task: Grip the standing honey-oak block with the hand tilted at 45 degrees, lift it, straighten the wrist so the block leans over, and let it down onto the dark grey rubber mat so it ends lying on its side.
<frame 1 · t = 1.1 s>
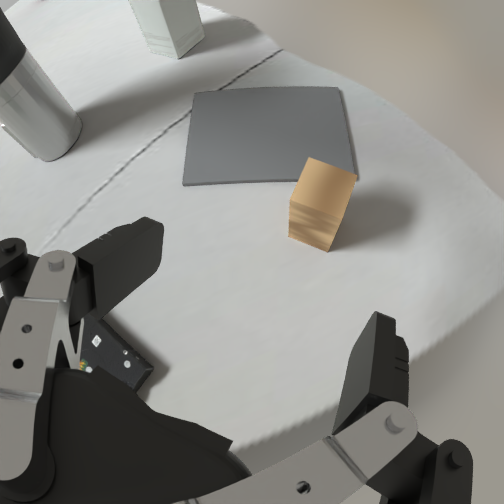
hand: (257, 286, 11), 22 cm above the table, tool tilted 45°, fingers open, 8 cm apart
rubber mat: (267, 130, 39), on the table
disk drive: (89, 357, 33), on the table
supplement box: (177, 44, 47), on the table
oak block: (315, 226, 35), on the table
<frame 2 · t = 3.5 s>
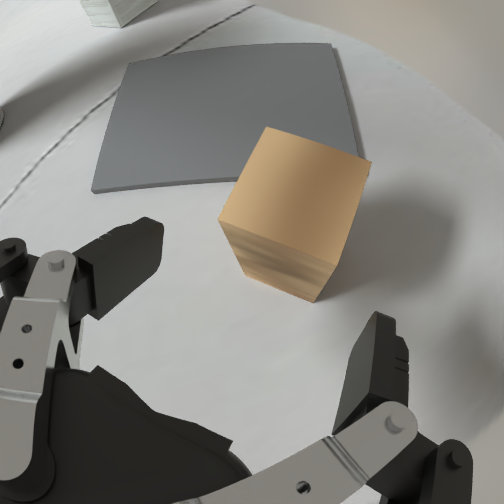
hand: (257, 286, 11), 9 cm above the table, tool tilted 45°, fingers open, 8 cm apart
rubber mat: (221, 104, 24), on the table
supplement box: (124, 13, 32), on the table
oak block: (292, 256, 20), on the table
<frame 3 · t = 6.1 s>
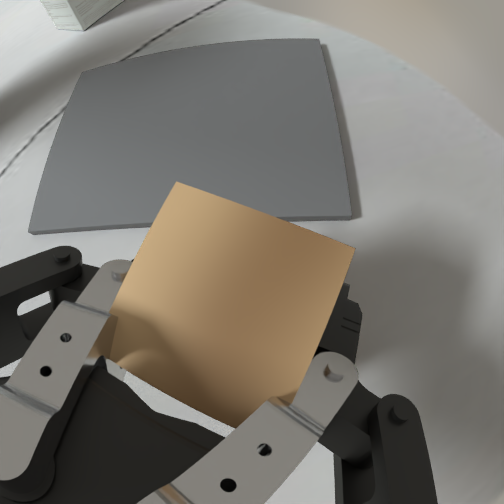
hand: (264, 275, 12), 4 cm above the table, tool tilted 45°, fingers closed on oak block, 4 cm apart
rubber mat: (177, 120, 20), on the table
supplement box: (91, 14, 28), on the table
oak block: (254, 330, 15), on the table, touching gripper
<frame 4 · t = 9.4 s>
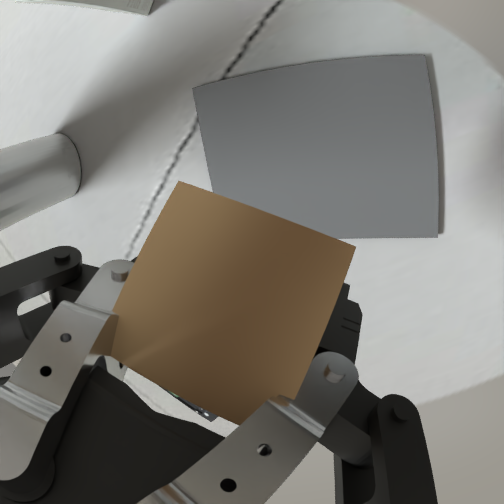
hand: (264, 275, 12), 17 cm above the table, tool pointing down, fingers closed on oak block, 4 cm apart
rubber mat: (316, 152, 26), on the table
disk drive: (191, 371, 46), on the table
oak block: (254, 329, 15), point 15 cm above the table, tilted 45°, touching gripper
when the fingers open (5 cm above the table, at t = 12.4 s): oak block moves 2 cm and tips over, resting on rubber mat.
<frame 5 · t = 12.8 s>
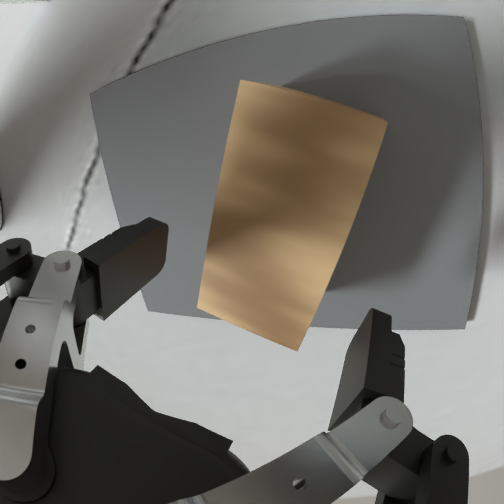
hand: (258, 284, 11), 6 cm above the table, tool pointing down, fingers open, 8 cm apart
rubber mat: (270, 189, 15), on the table
oak block: (264, 300, 15), point 3 cm above the table, tilted 90°, touching rubber mat
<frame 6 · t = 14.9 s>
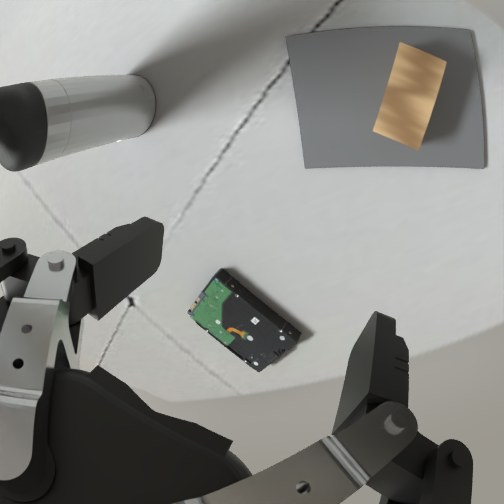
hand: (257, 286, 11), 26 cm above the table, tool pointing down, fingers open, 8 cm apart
rubber mat: (390, 95, 28), on the table
disk drive: (245, 317, 48), on the table
oak block: (394, 138, 27), point 3 cm above the table, tilted 90°, touching rubber mat
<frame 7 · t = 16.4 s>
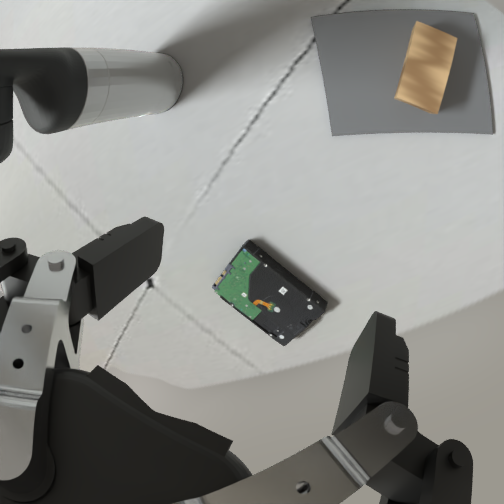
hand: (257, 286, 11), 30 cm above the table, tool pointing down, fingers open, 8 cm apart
rubber mat: (407, 69, 29), on the table
disk drive: (270, 290, 49), on the table
oak block: (414, 105, 28), point 3 cm above the table, tilted 90°, touching rubber mat
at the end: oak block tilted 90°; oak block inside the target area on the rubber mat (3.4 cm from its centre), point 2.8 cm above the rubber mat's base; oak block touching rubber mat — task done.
